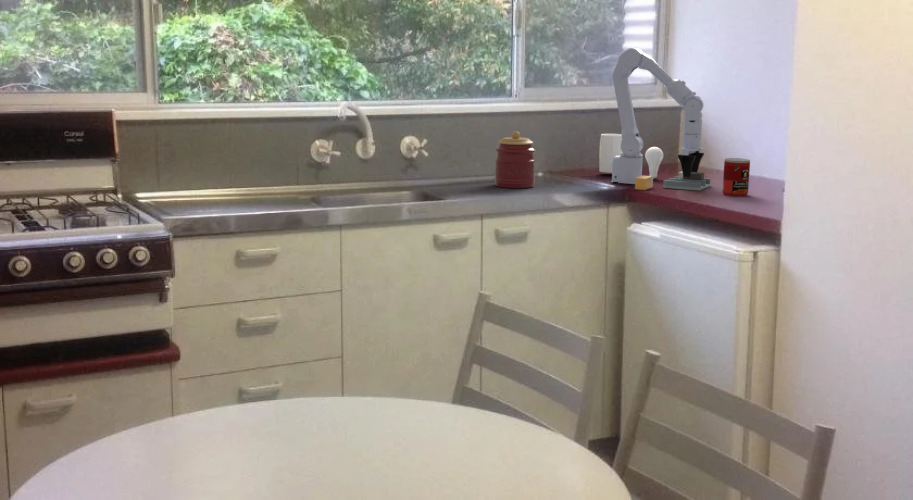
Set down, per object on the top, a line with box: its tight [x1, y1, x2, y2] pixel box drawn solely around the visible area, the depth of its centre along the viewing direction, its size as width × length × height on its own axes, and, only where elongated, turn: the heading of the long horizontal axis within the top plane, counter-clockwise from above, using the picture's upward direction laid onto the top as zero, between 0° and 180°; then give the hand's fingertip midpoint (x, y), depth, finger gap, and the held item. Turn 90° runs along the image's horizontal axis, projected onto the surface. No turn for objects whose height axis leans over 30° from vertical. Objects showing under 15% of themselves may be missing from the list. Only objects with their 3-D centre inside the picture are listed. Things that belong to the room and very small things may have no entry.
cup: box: [598, 133, 623, 174], centre depth 381 cm, size 8×8×14 cm
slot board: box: [662, 175, 712, 191], centre depth 353 cm, size 12×12×2 cm
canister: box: [494, 130, 537, 189], centre depth 348 cm, size 13×13×18 cm
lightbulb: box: [644, 146, 664, 180], centre depth 372 cm, size 6×6×11 cm
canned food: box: [722, 157, 751, 197], centre depth 336 cm, size 8×8×11 cm
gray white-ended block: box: [678, 170, 705, 181], centre depth 355 cm, size 8×3×4 cm, turn 62°
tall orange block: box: [634, 175, 654, 191], centre depth 348 cm, size 8×3×4 cm, turn 152°
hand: (689, 175), depth 355 cm, fingers open, 7 cm apart
